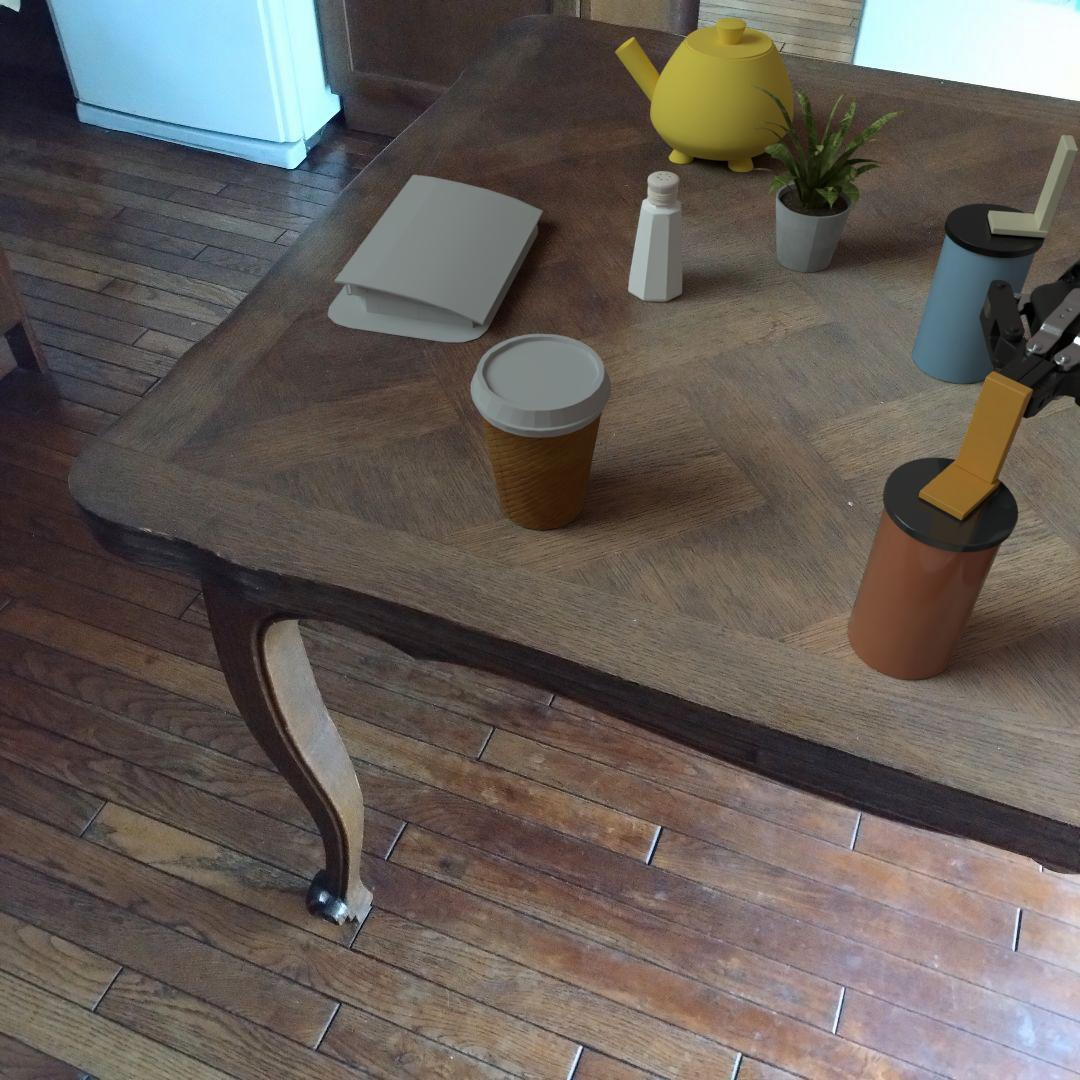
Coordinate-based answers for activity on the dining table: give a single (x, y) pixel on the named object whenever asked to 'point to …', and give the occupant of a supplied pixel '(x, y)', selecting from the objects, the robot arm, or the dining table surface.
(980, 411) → the near slider
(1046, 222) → the block
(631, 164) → the dining table surface
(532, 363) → the disposable coffee cup
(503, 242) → the book
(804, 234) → the house plant
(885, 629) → the near tumbler
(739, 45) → the teapot
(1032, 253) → the disc
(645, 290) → the salt shaker
